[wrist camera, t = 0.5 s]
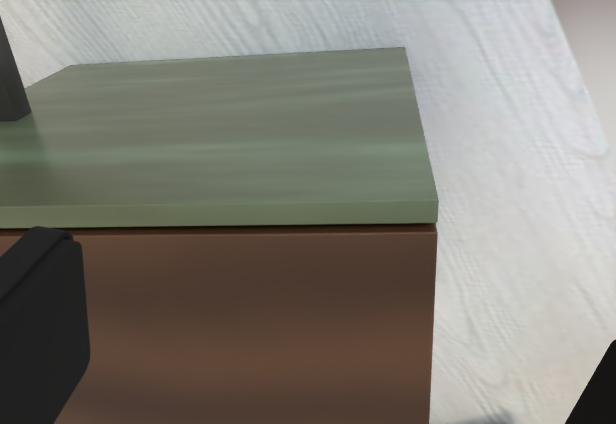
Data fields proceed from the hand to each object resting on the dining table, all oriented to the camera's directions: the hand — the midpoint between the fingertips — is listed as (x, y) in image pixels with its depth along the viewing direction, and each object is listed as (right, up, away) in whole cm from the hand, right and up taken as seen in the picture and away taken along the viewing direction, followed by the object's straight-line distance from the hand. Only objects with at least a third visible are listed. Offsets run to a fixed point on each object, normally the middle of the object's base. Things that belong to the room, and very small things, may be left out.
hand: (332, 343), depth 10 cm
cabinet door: (-7, +17, +30) cm, 35 cm away
